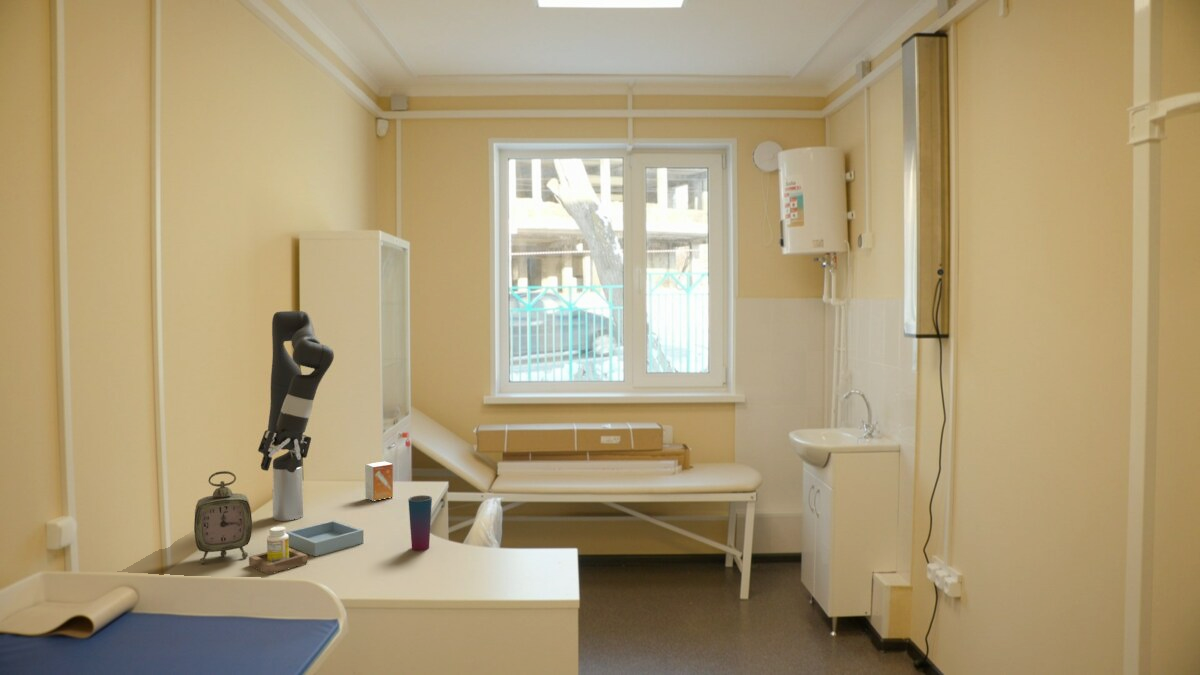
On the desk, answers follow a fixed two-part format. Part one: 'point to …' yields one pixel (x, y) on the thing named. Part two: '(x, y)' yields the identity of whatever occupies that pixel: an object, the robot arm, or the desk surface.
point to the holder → (263, 564)
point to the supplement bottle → (277, 544)
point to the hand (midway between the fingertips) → (277, 470)
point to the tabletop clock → (222, 520)
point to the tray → (325, 538)
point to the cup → (420, 521)
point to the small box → (378, 480)
